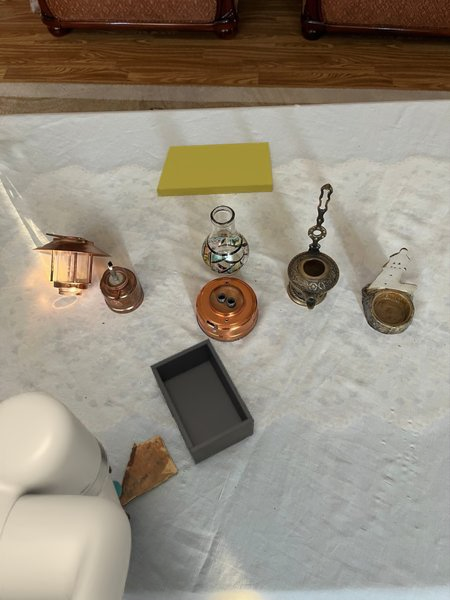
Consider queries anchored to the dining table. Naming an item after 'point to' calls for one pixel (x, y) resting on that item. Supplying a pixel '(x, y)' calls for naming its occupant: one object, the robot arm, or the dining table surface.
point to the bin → (203, 400)
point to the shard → (146, 469)
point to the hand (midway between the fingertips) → (108, 498)
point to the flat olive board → (216, 169)
